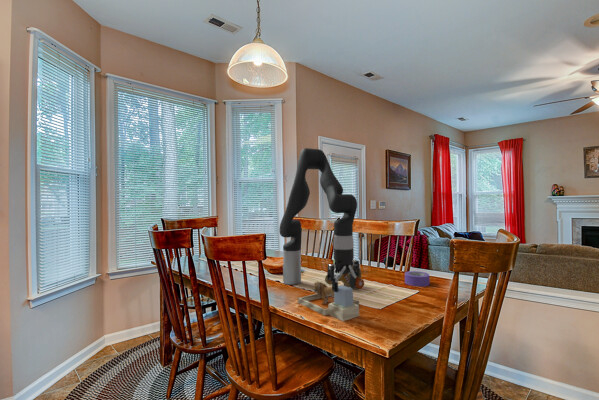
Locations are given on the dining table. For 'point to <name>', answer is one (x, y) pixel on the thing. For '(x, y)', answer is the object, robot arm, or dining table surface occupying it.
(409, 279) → the tape roll
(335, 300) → the fin block
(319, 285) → the lion figurine
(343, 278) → the toy helicopter
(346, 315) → the grey rectangular frame
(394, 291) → the dining table surface
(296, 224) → the robot arm
